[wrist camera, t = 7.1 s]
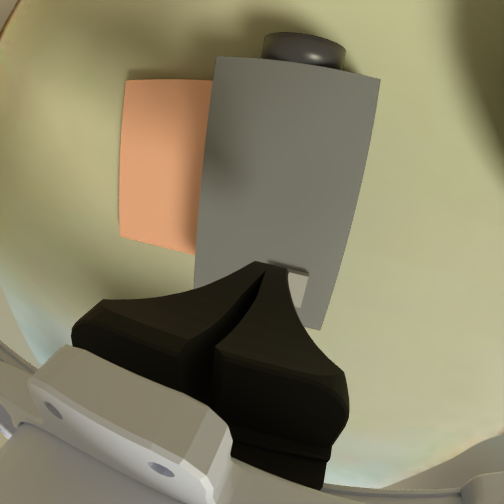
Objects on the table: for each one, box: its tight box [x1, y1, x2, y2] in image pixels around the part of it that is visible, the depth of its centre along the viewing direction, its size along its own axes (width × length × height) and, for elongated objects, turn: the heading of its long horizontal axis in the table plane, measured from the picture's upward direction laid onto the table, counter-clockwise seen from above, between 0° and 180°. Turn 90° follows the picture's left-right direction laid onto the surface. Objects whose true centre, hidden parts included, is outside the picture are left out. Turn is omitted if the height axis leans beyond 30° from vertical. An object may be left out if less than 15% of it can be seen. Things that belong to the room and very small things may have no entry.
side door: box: [119, 79, 213, 255], centre depth 20 cm, size 12×1×7 cm
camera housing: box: [194, 32, 380, 330], centre depth 17 cm, size 16×8×5 cm, turn 172°
